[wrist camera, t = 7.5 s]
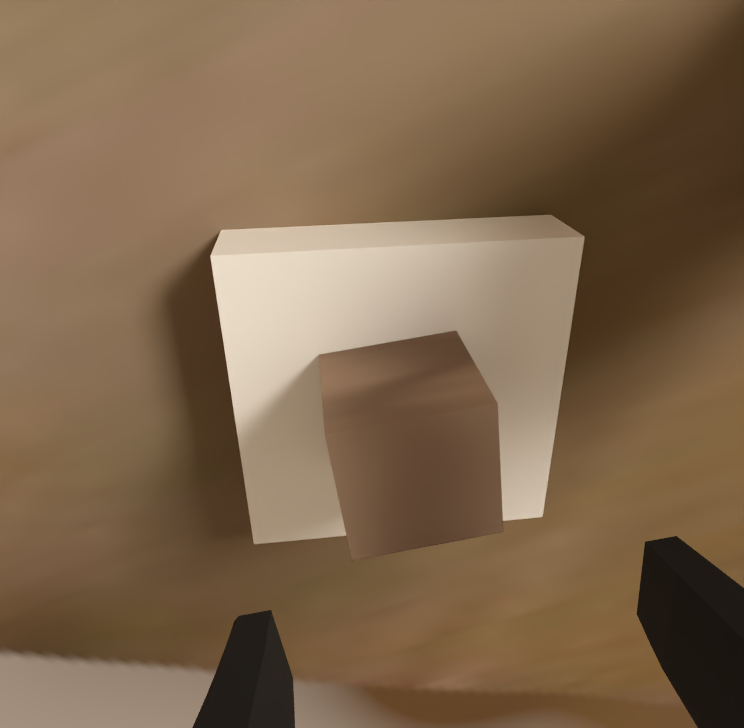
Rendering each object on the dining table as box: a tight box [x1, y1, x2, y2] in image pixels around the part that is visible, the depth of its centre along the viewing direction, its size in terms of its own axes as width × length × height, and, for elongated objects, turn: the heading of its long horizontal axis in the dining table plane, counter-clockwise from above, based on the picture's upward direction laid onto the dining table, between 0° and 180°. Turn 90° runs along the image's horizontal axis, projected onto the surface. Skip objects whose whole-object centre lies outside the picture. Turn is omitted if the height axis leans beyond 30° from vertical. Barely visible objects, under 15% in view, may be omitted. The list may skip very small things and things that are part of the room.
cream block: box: [210, 215, 585, 544], centre depth 19 cm, size 10×10×3 cm
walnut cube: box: [319, 331, 503, 561], centre depth 16 cm, size 4×4×4 cm
